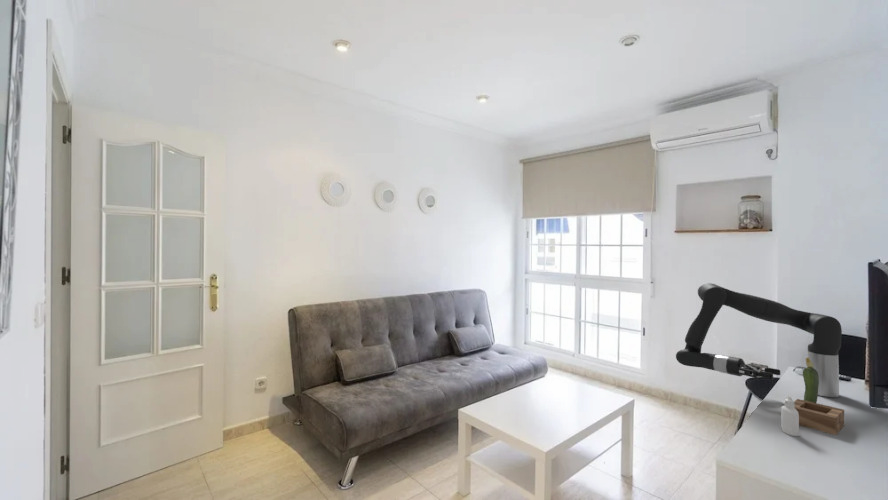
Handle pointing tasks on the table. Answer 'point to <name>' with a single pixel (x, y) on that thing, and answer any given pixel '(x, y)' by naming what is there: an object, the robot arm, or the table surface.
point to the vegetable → (810, 382)
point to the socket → (820, 416)
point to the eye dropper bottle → (790, 418)
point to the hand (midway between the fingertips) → (776, 374)
